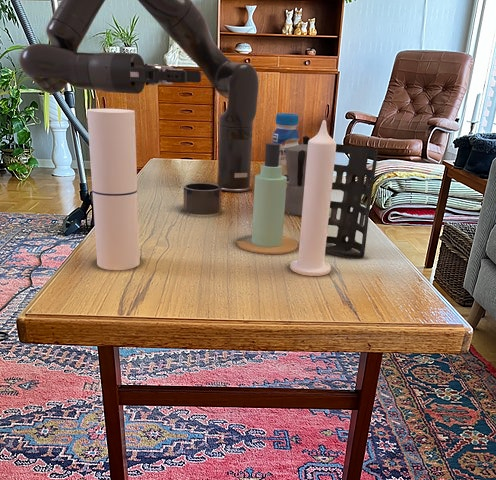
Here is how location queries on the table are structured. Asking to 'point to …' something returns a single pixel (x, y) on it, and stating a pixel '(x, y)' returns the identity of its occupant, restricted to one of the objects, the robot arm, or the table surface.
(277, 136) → the beverage bottle
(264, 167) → the bottle
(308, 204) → the candle
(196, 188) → the bottle holder
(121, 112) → the cylindrical container
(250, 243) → the coaster
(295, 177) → the coffeepot
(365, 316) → the table surface
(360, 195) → the holder
